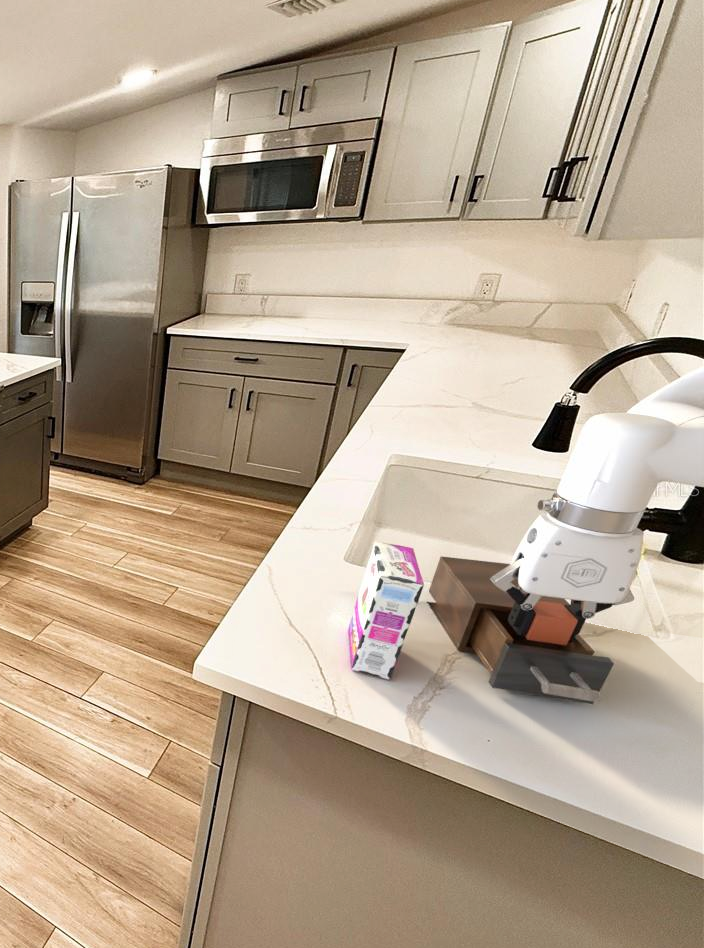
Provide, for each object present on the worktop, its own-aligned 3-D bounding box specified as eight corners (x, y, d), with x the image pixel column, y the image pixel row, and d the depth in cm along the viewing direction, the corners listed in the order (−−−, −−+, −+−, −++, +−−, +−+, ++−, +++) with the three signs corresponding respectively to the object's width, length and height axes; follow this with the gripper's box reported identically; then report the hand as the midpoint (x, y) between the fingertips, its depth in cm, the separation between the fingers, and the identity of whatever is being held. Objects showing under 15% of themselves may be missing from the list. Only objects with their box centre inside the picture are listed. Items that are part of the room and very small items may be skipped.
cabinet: (558, 665, 87) (582, 616, 84) (457, 650, 92) (475, 602, 88) (513, 611, 99) (532, 566, 95) (425, 600, 103) (440, 556, 100)
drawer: (615, 731, 76) (638, 688, 73) (507, 712, 79) (526, 671, 77) (543, 645, 90) (560, 607, 87) (455, 632, 94) (469, 596, 91)
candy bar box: (393, 682, 86) (426, 584, 80) (350, 671, 89) (378, 576, 82) (385, 637, 95) (415, 546, 88) (347, 629, 98) (372, 539, 91)
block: (550, 627, 84) (561, 603, 82) (566, 645, 81) (578, 620, 79) (513, 622, 85) (523, 598, 84) (527, 639, 82) (538, 615, 80)
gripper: (521, 518, 75) (473, 638, 83) (710, 535, 69) (640, 663, 77) (493, 493, 82) (451, 607, 89) (665, 507, 76) (604, 627, 83)
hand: (540, 631), depth 83 cm, fingers closed on block, 4 cm apart
